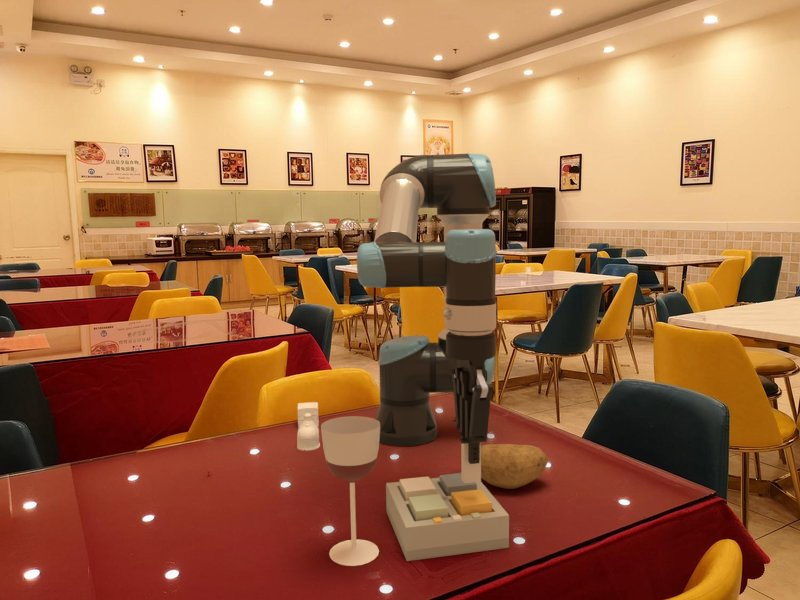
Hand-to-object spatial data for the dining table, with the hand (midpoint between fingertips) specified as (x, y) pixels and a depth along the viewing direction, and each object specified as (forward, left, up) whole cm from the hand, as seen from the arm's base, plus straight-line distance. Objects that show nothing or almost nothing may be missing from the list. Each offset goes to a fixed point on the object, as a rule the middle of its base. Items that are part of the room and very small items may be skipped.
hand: (471, 480), depth 94 cm
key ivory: (-7, -7, -6) cm, 11 cm away
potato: (-17, +13, -10) cm, 23 cm away
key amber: (0, 0, -6) cm, 6 cm away
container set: (-55, -22, -10) cm, 60 cm away
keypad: (-4, -3, -9) cm, 11 cm away
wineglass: (0, -19, -10) cm, 21 cm away
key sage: (0, -7, -6) cm, 9 cm away
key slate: (-7, 0, -6) cm, 9 cm away
